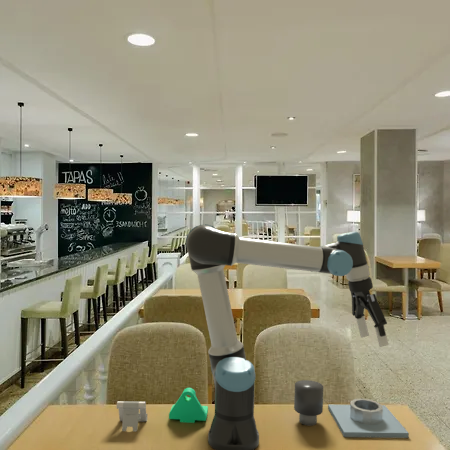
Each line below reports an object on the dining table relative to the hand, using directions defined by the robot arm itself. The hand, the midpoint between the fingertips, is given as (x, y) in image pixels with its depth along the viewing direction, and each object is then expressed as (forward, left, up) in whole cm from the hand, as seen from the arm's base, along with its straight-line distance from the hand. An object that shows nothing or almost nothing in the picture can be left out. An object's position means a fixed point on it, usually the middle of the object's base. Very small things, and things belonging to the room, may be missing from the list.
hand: (374, 340), depth 152 cm
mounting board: (-1, -3, -27) cm, 27 cm away
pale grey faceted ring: (-1, -3, -25) cm, 25 cm away
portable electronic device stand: (-51, -59, -27) cm, 83 cm away
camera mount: (-43, -43, -27) cm, 66 cm away
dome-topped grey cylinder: (-14, -16, -27) cm, 34 cm away
